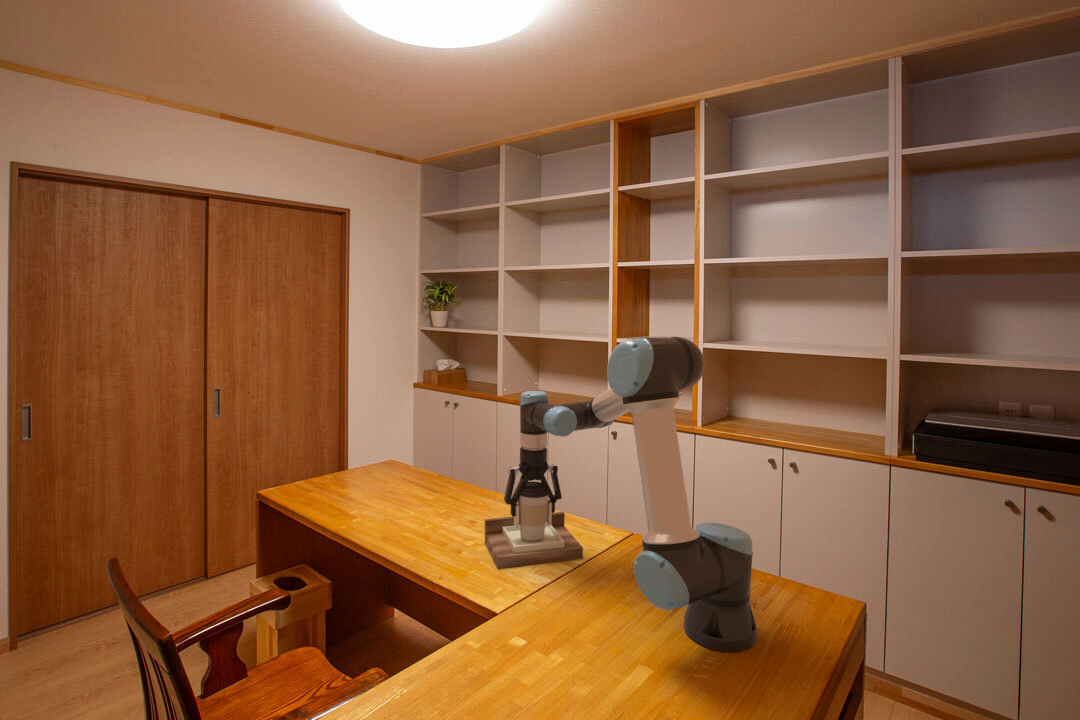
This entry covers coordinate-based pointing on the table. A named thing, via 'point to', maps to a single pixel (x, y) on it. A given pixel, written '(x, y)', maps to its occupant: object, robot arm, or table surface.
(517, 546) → the tray
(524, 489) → the coffee cup
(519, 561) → the shelf
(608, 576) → the table surface
